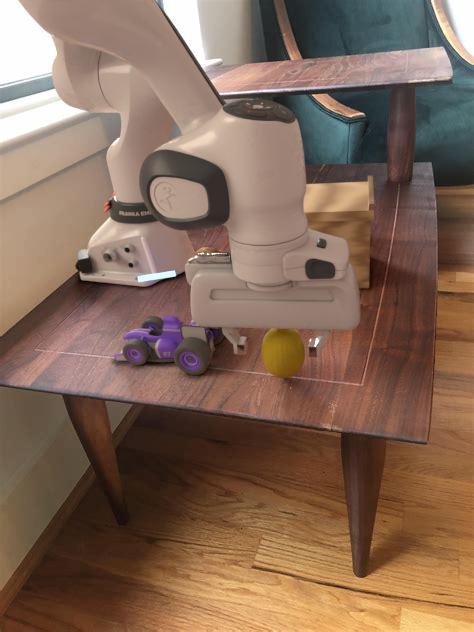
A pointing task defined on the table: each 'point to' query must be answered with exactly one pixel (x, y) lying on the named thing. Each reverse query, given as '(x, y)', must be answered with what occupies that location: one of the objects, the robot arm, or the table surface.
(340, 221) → the wooden crate box
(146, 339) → the toy race car
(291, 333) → the lemon
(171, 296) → the table surface
